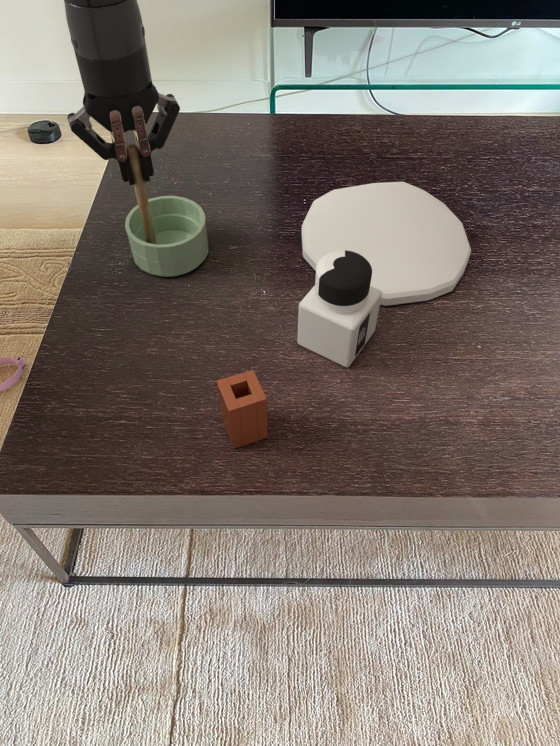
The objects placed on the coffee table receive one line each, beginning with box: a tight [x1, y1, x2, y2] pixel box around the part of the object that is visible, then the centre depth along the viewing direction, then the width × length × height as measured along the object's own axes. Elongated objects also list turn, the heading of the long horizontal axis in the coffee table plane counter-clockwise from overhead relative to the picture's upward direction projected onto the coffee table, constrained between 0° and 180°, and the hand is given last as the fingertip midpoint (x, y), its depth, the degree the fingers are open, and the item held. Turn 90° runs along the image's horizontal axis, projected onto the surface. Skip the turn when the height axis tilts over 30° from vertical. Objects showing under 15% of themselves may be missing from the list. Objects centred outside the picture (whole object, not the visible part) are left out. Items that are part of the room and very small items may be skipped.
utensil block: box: [216, 369, 269, 450], centre depth 70 cm, size 4×4×8 cm
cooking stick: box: [125, 143, 157, 244], centre depth 82 cm, size 1×1×17 cm
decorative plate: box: [300, 181, 472, 307], centre depth 91 cm, size 25×4×25 cm
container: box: [296, 250, 382, 368], centre depth 77 cm, size 8×8×13 cm
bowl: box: [124, 195, 210, 278], centre depth 90 cm, size 11×11×6 cm
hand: (138, 179), depth 79 cm, fingers closed on cooking stick, 1 cm apart
